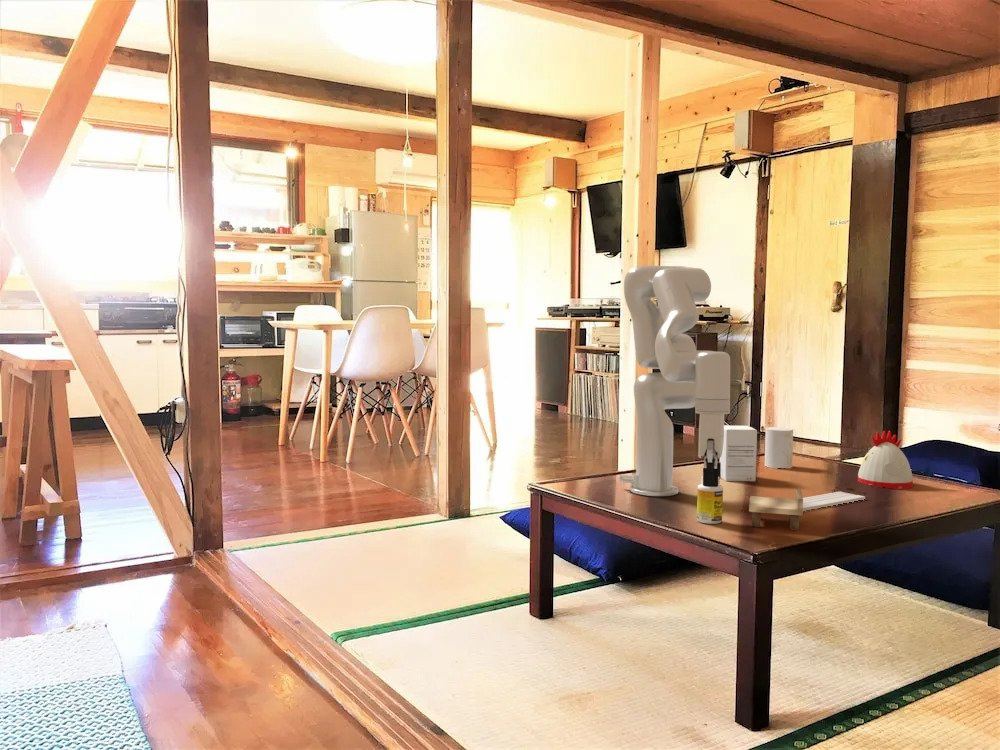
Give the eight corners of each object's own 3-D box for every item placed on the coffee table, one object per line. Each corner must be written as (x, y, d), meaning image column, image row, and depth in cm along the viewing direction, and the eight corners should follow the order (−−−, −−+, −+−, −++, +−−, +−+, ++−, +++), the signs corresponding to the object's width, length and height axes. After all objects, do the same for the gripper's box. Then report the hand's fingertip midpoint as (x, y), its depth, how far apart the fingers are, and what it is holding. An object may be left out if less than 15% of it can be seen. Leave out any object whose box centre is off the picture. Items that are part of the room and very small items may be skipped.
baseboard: (754, 508, 197) (788, 517, 188) (754, 497, 197) (788, 505, 188) (830, 495, 213) (865, 502, 204) (831, 484, 213) (865, 491, 204)
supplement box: (716, 475, 237) (717, 424, 236) (746, 475, 237) (747, 425, 236) (724, 481, 228) (726, 429, 227) (756, 481, 228) (757, 429, 227)
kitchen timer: (849, 479, 232) (851, 427, 231) (897, 479, 232) (899, 427, 231) (871, 488, 218) (873, 434, 217) (922, 489, 218) (924, 434, 217)
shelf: (748, 527, 176) (749, 495, 176) (749, 516, 187) (750, 485, 186) (802, 531, 173) (803, 499, 172) (799, 519, 183) (800, 489, 183)
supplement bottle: (715, 526, 177) (716, 480, 177) (692, 521, 181) (693, 477, 180) (726, 521, 182) (727, 476, 181) (703, 517, 185) (704, 473, 184)
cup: (788, 470, 246) (789, 431, 245) (761, 467, 250) (762, 429, 249) (794, 466, 252) (795, 428, 252) (768, 463, 257) (769, 426, 256)
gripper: (698, 403, 189) (697, 476, 189) (692, 409, 172) (691, 488, 173) (731, 404, 186) (730, 477, 187) (728, 410, 170) (727, 490, 170)
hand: (711, 482), depth 180 cm, fingers open, 9 cm apart
